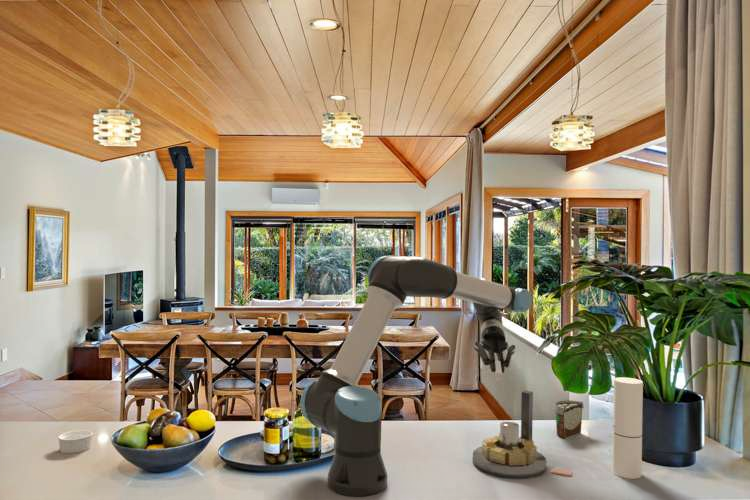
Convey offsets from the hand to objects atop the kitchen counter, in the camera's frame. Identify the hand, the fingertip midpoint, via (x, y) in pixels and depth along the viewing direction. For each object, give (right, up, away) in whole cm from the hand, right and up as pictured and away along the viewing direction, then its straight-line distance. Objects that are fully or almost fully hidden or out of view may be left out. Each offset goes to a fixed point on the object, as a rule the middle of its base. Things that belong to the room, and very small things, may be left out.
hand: (498, 377), depth 164 cm
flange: (+1, -23, -7) cm, 24 cm away
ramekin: (-124, -21, 0) cm, 126 cm away
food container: (+25, -23, +19) cm, 39 cm away
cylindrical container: (+32, -23, -13) cm, 41 cm away
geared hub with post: (+3, -20, -5) cm, 21 cm away
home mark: (+14, -23, -13) cm, 30 cm away
